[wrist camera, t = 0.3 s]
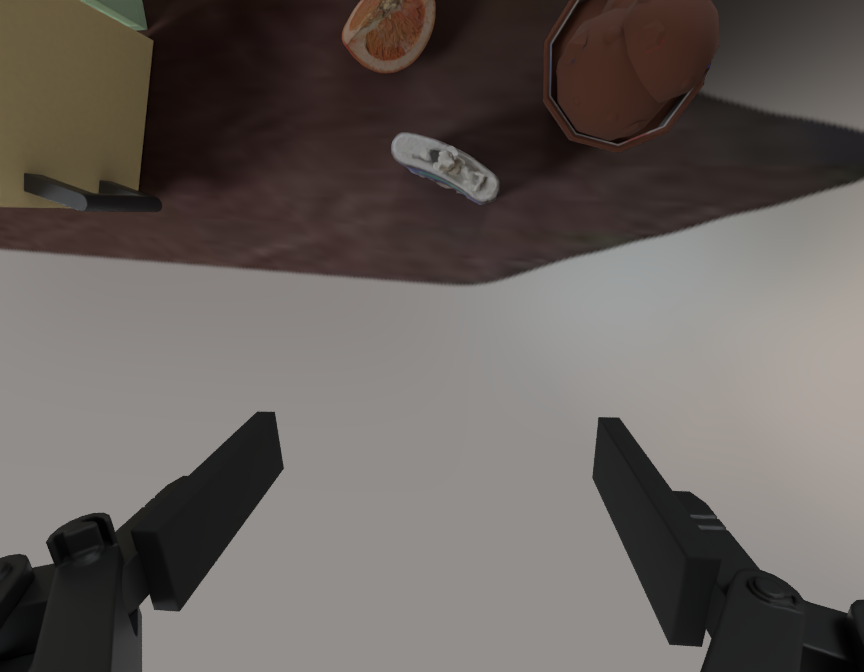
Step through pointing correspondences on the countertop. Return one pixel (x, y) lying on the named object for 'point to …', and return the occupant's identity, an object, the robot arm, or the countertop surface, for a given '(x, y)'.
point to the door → (71, 108)
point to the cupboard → (122, 11)
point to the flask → (446, 166)
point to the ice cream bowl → (626, 67)
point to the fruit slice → (389, 32)
